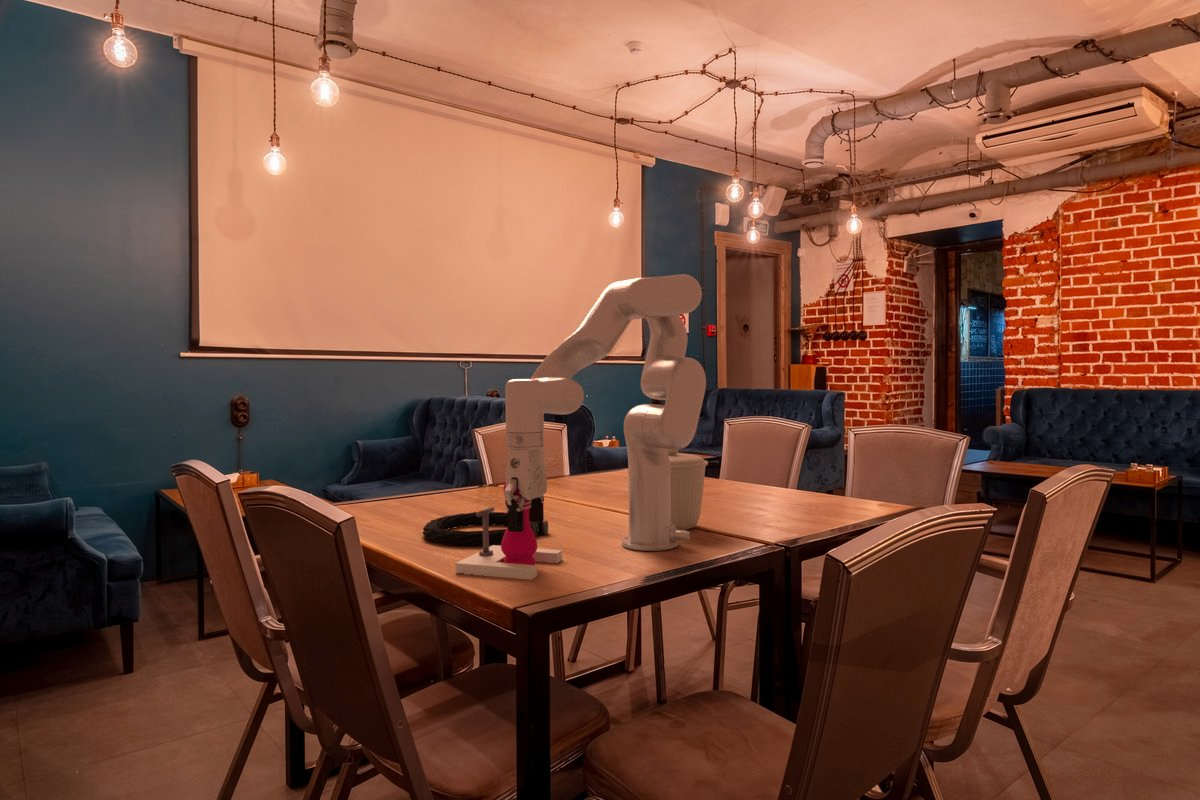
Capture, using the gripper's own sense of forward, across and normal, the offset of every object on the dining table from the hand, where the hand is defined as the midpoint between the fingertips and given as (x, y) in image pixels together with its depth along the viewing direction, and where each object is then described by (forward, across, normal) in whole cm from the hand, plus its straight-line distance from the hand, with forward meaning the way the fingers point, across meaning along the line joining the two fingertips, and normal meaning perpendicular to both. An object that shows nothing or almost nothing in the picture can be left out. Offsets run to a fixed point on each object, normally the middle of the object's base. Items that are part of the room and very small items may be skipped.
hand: (526, 526), depth 152 cm
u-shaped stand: (+8, 0, +4) cm, 9 cm away
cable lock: (+9, +26, +22) cm, 36 cm away
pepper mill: (+8, -1, +1) cm, 9 cm away
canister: (+8, +47, -18) cm, 51 cm away
